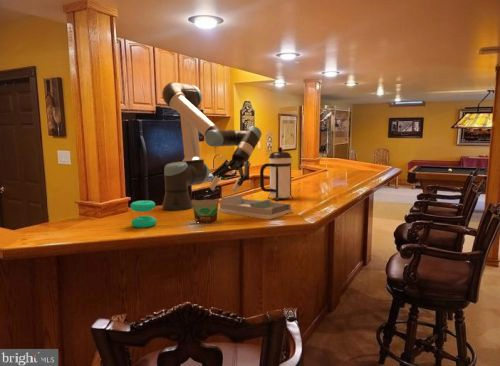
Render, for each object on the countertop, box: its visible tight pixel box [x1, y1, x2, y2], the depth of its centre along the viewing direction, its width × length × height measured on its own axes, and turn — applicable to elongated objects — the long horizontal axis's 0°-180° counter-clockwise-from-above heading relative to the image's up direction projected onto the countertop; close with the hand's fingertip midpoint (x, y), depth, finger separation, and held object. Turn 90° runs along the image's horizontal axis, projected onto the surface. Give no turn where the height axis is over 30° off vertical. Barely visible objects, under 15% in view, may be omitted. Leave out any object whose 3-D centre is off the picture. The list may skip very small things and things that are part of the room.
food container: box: [191, 198, 220, 224], centre depth 158 cm, size 12×6×10 cm, turn 105°
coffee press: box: [259, 146, 294, 202], centre depth 211 cm, size 17×16×30 cm
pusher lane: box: [217, 193, 294, 220], centre depth 178 cm, size 30×20×6 cm, turn 52°
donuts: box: [129, 199, 157, 229], centre depth 154 cm, size 10×10×10 cm
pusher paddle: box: [250, 198, 271, 208], centre depth 178 cm, size 6×14×4 cm, turn 142°
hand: (222, 189), depth 163 cm, fingers open, 13 cm apart
